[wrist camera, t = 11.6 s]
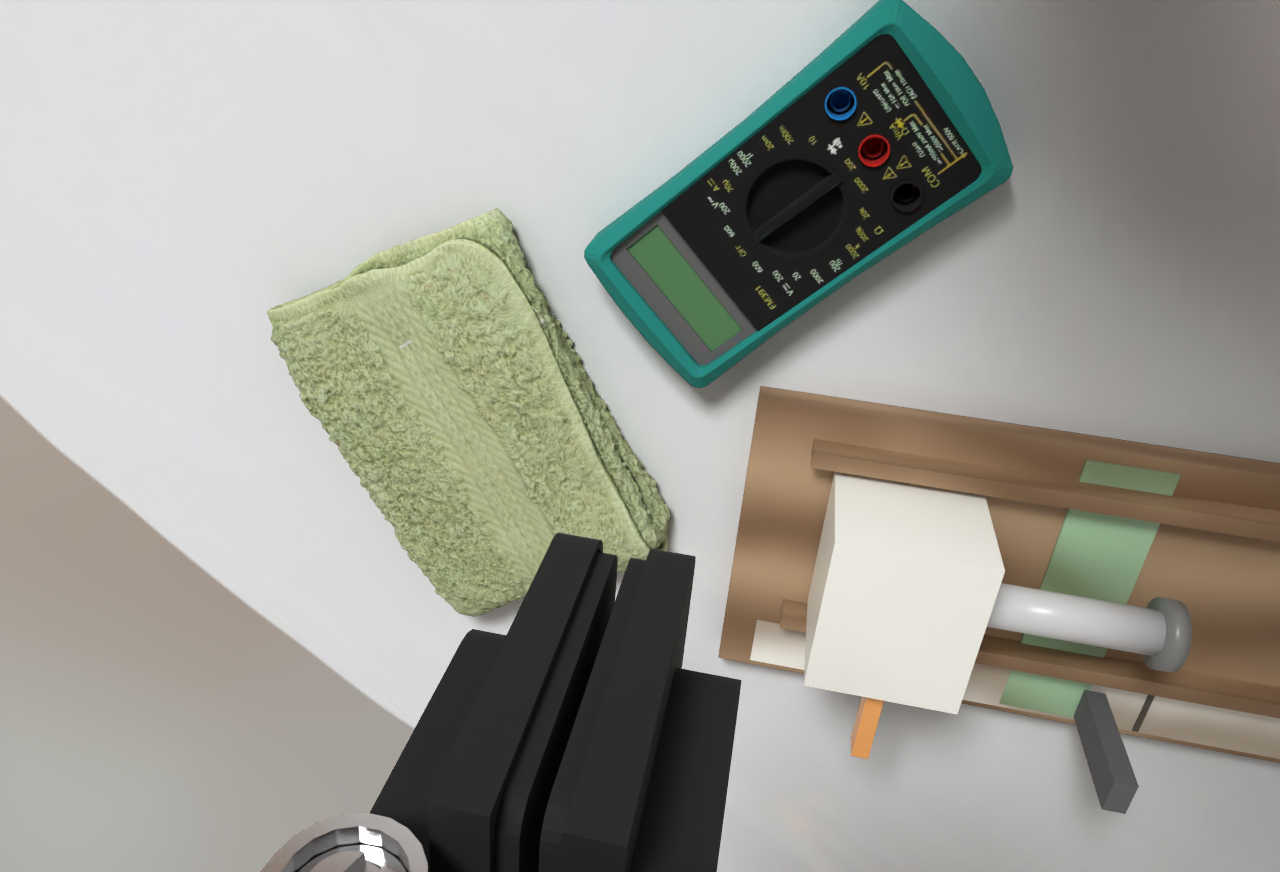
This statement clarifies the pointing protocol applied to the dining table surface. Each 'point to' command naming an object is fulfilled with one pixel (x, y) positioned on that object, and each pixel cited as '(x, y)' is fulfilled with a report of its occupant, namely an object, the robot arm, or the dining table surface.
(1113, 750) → the dark grey block
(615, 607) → the robot arm
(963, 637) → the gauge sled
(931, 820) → the dining table surface
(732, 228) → the digital multimeter
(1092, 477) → the wooden rail slider
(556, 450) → the washcloth
